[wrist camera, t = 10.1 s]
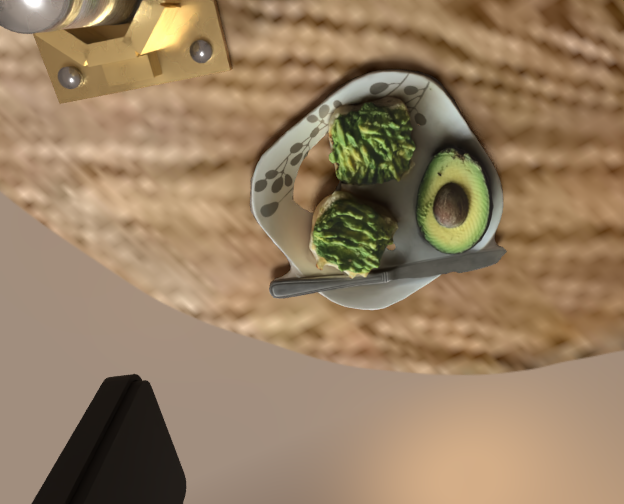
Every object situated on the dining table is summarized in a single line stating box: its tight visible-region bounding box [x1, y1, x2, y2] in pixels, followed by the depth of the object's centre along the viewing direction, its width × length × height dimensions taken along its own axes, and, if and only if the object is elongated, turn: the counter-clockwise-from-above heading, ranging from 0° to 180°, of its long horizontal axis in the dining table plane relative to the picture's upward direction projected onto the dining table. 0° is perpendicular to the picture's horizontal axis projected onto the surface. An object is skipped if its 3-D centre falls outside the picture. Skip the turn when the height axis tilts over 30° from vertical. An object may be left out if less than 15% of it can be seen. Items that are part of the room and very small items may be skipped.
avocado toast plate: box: [250, 69, 507, 310], centre depth 38 cm, size 19×18×5 cm
